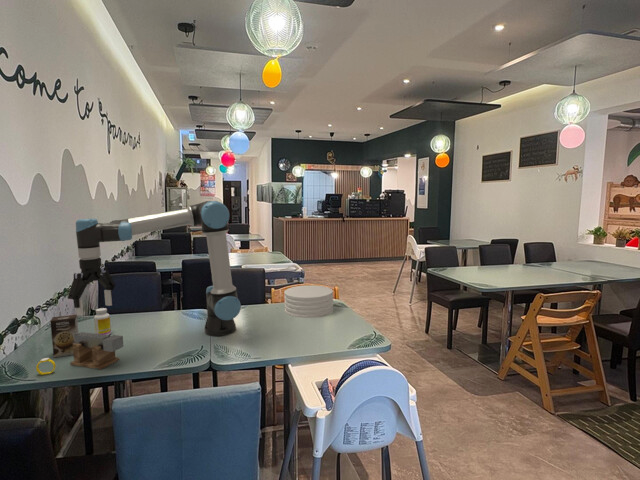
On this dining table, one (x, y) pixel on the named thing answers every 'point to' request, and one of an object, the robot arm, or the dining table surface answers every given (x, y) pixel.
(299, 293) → the plate stack
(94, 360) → the cradle rack
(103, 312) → the supplement bottle
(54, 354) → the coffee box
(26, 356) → the dining table surface
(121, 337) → the grey t-shaped block
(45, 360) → the watch
